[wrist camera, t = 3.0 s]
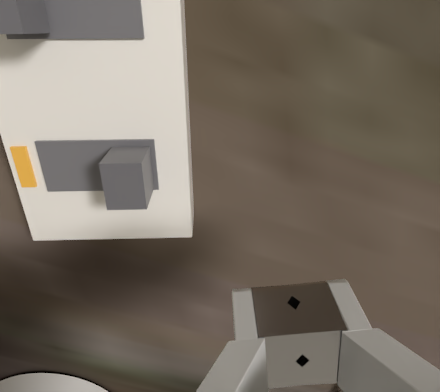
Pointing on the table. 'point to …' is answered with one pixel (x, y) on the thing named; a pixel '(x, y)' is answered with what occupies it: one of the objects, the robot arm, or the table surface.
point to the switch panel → (98, 116)
